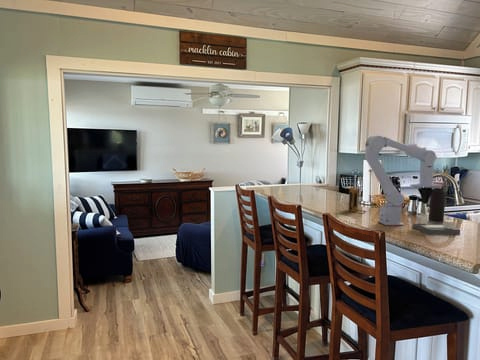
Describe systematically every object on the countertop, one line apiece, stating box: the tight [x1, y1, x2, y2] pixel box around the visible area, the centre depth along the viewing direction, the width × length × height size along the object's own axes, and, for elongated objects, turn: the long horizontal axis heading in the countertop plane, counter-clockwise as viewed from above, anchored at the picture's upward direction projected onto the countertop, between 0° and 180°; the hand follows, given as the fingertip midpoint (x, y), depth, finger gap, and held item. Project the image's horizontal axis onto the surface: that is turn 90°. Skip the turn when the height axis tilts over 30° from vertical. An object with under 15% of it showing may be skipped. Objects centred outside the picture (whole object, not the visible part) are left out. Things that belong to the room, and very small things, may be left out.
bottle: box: [428, 181, 447, 223], centre depth 186 cm, size 7×7×20 cm
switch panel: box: [412, 222, 461, 235], centre depth 166 cm, size 14×13×2 cm
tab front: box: [443, 219, 456, 229], centre depth 161 cm, size 3×3×3 cm
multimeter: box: [347, 176, 369, 215], centre depth 208 cm, size 15×10×20 cm
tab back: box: [416, 215, 428, 224], centre depth 170 cm, size 3×3×3 cm
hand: (425, 203), depth 177 cm, fingers closed
